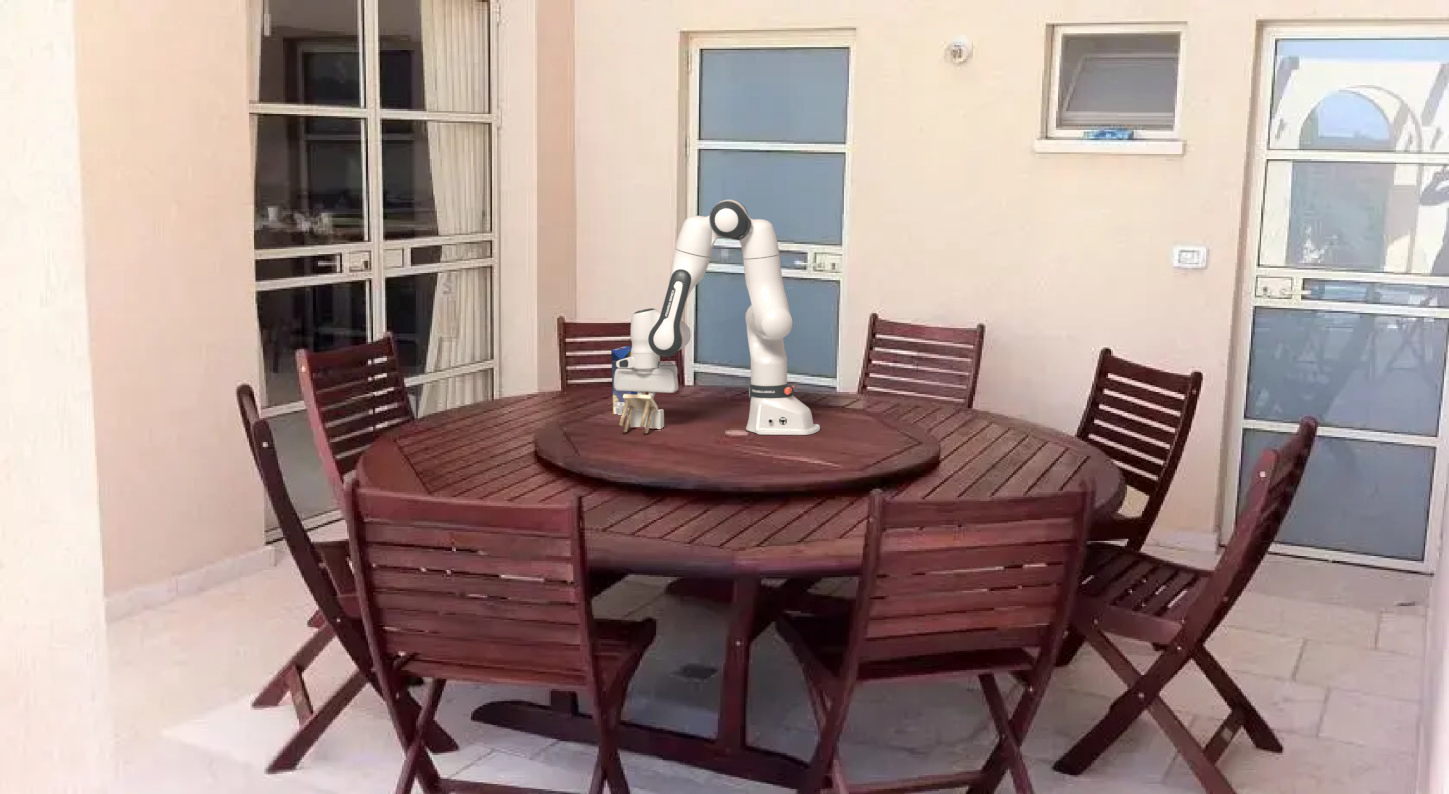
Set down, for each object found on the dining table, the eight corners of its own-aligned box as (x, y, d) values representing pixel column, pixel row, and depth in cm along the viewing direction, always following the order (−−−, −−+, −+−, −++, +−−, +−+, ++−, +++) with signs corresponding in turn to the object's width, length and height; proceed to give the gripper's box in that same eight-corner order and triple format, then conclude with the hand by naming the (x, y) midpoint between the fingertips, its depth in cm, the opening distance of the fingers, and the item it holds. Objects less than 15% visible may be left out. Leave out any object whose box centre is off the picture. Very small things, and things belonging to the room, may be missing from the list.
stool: (650, 435, 408) (658, 406, 413) (643, 424, 402) (651, 395, 407) (623, 434, 411) (630, 405, 416) (615, 422, 405) (623, 394, 410)
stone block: (664, 428, 417) (663, 409, 416) (660, 430, 414) (660, 411, 413) (634, 427, 420) (633, 408, 419) (630, 428, 417) (629, 409, 416)
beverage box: (645, 412, 447) (644, 346, 443) (632, 418, 436) (630, 350, 433) (626, 411, 449) (625, 346, 445) (613, 417, 439) (611, 350, 435)
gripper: (680, 361, 414) (681, 405, 416) (619, 359, 420) (620, 403, 422) (673, 363, 408) (674, 409, 410) (611, 361, 414) (612, 406, 416)
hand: (646, 406), depth 416 cm, fingers closed
